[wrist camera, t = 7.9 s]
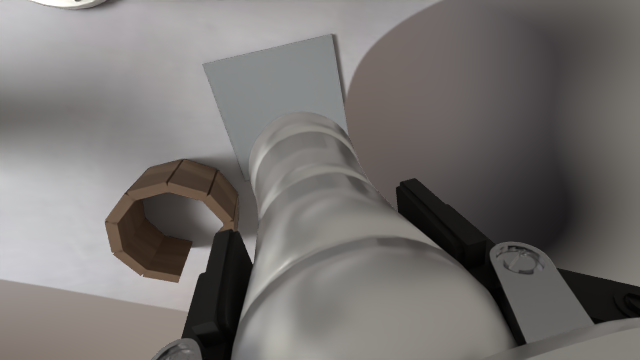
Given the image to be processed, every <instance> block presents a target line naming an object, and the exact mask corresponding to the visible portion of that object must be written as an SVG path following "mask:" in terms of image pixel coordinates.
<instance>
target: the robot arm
mask: <svg viewBox="0 0 640 360" xmlns="http://www.w3.org/2000/svg"><path fill="white" fill-rule="evenodd" d="M29 1H32V2H35V3H38V4H41V5H44V6H49V7H54V8H60V9H83V8H89V7H93V6H96V5H98V4H100V3H103V2H105V1H106V0H29ZM396 194H397V205H398V213H400V214H401V215H402V216H403V217H404V218H406V219H407V220H408V221H409V222H410V223H412V224H413V225H414V226H415V227H416V228H418V229H419V230H420V231H421V232H422V233H424V234H425V235H426V236H427V237H428V238H430V239H431V240H432V241H433V242H434V243H436V244H437V245H438V246H439V247H440V248H442V249H443V250H444V251H445V252H447V253H448V254H449V255H450V256H452V257H453V258H454V259H455V260H457V261H458V262H459V263H460V264H461V265H462V266H463V267H464V268H465V269H466V270H467V271H468V272H469V273H470V274H471V275H472V276H473V277H474V278H475V279H476V280H477V281H478V282H480V283H481V284H482V285H483V286H484V287H485V288H486V289H487V290H488V291H489V293H490V294H491V296H492V297H493V299H494V300H495V302H496V303H497V305H498V307H499V309H500V311H501V313H502V315H503V317H504V319H505V321H506V323H507V325H508V327H509V329H510V331H511V333H512V335H513V337H514V339H515V341H516V343H517V345H518V347H516V348H513V349H510V350H507V351H504V352H500V353H497V354H494V355H491V356H488V357H485V358H482V359H479V360H640V287H638V286H634V285H629V284H625V283H620V282H616V281H612V280H607V279H603V278H598V277H594V276H590V275H585V274H580V273H576V272H572V271H568V270H563V269H559V268H556V267H555V266H554V264H553V263H552V261H551V260H550V259H549V258H548V257H547V255H546V254H545V253H543V252H542V251H540V250H539V249H537V248H535V247H532V246H530V245H527V244H523V243H518V242H506V243H500V244H498V245H495V244H494V243H493V242H492V241H491V240H490V239H488V238H487V237H486V236H485V235H484V234H483V233H482V232H480V231H479V230H478V229H477V228H476V227H474V226H473V225H472V224H471V223H470V222H469V221H468V220H466V219H465V218H464V217H463V216H462V215H460V214H459V213H458V212H457V211H456V210H455V209H453V208H452V207H451V206H450V205H448V204H445V203H444V202H442V201H441V200H440V199H439V198H438V197H437V196H435V195H434V194H433V193H432V192H431V191H430V190H429V189H427V188H426V187H425V186H424V185H423V184H422V183H421V182H419V181H418V180H417V179H415V178H414V179H410V180H406V181H402V182H400V186H398V187H397V188H396ZM252 267H253V264H252V262H251V259H250V257H249V255H248V252H247V250H246V247H245V245H244V243H243V240H242V238H241V235H240V233H239V232H238V231H235V232H234V231H233V230H232V229H228V230H224V231H221V232H217V233H216V234H215V237H214V241H213V245H212V249H211V253H210V257H209V261H208V265H207V269H206V272H205V273H201V274H200V275H199V278H198V280H197V284H196V288H195V291H194V295H193V298H192V302H191V305H190V309H189V312H188V316H187V320H186V323H185V327H184V330H183V334H182V337H181V339H179V340H176V341H174V342H171V343H169V344H168V345H166V346H165V347H164V348H162V349H161V350H160V351H159V352H158V353H157V354H156V355H155V356H154V357H153V358H152V359H151V360H231V355H232V349H233V344H234V340H235V337H236V333H237V329H238V325H239V320H240V316H241V312H242V308H243V304H244V300H245V296H246V292H247V288H248V284H249V280H250V276H251V272H252Z"/></svg>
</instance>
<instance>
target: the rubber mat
mask: <svg viewBox="0 0 640 360" xmlns="http://www.w3.org/2000/svg"><path fill="white" fill-rule="evenodd" d="M202 65H203V67H204V70H205V73H206V75H207V78H208V81H209V84H210V86H211V89H212V92H213V95H214V97H215V100H216V103H217V105H218V108H219V111H220V114H221V116H222V119H223V122H224V124H225V127H226V130H227V133H228V135H229V138H230V141H231V143H232V146H233V149H234V152H235V154H236V157H237V160H238V163H239V165H240V168H241V171H242V173H243V176H244V179H245V181H248V180H250V175H249V158H250V154H251V150H252V148H253V146H254V143H255V141H256V139H257V138H258V137H259V135H260V134H261V133H262V131H263V130H264V129H265V127H266V126H268V125H269V124H270V123H271V122H272V121H273V120H275V119H277V118H278V117H280V116H282V115H285V114H288V113H291V112H299V111H304V112H312V113H315V114H319V115H322V116H325V117H327V118H329V119H331V120H332V121H334V122H336V123H337V124H338V125H339V126H340V127H341V128H342V129H343V130H344V131H345V132H346V134H347V135H348V129H347V123H346V117H345V111H344V105H343V99H342V93H341V87H340V81H339V75H338V69H337V63H336V57H335V51H334V45H333V39H332V34H330V35H325V36H321V37H317V38H313V39H308V40H304V41H300V42H295V43H291V44H287V45H282V46H278V47H274V48H270V49H265V50H261V51H257V52H252V53H248V54H244V55H240V56H235V57H231V58H227V59H222V60H218V61H214V62H209V63H205V64H202ZM348 137H349V135H348Z"/></svg>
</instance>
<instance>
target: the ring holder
mask: <svg viewBox="0 0 640 360" xmlns="http://www.w3.org/2000/svg"><path fill="white" fill-rule="evenodd" d="M166 192H170V193H174V194H178V195H181V196H185V197H189V198H192V199H196V200H200V201H203V202H204V203H205V204H206V205H207V206H208V207H209V209H210V210H211V211H212V212H213V213H214V214H215V215H216V216H217V217H218V218H219V219H220V220H221V221H222V222H223V227H222V228H221V229H220V230H219V231H218V232H221V231H224V230H228V229H232V230H233V231H234V232H235V231H237V226H238V194H237V191H236V190H235V189H234V188H233V187H232V185H231V184H230V183H229V182H228V181H227V180H226V178H225V177H224V176H223V175H222V174H221V173H220V171H219V170H218V171H217V172H216V169H215V168H212V167H208V166H205V165H202V164H199V163H196V162H192V161H189V160H186V159H184V161H183V160H182V159H180V160H176V161H172V162H168V163H164V164H160V165H157V166H153V167H150V168H148V169H147V170H146V171H145V172H144V173H143V174H142V176H141V177H140V178H139V179H138V180H137V181H136V182H135V183H134V184H133V185H132V186H131V187H130V188H129V189H128V190H127V191H126V193H125V194H124V195H123V196H122V198H121V199H120V200H119V202H118V203H117V205H116V206H115V207H114V209H113V210H112V211H111V213H110V214H109V216H108V217H107V218H106V221H105V226H106V230H107V235H108V239H109V243H110V247H111V251H112V253H113V252H115V253H114V254H113V255H114V256H116V257H117V258H118V259H120V260H121V261H122V262H123V263H125V264H126V265H127V266H129V267H130V268H131V269H133V270H134V271H135V272H136V273H138V274H139V275H140V276H141V275H142V274H143V277H148V278H153V279H159V280H165V281H170V282H176V283H178V282H179V279H180V276H181V273H182V271H183V268H184V265H185V262H186V260H187V257H188V254H189V251H190V248H191V245H192V242H191V241H186V240H182V239H177V238H173V237H168V236H164V235H163V234H162V233H161V232H160V231H159V230H158V229H157V228H156V227H154V226H153V225H152V224H151V223H150V222H149V221H148V220H147V219H146V218H145V214H144V208H143V202H142V199H143V198H147V197H151V196H155V195H158V194H162V193H166ZM214 237H215V236H214ZM213 241H214V240H213ZM212 245H213V244H212ZM211 249H212V248H211ZM210 253H211V252H210ZM209 257H210V256H209ZM208 261H209V260H208ZM207 265H208V264H207ZM206 269H207V268H206Z"/></svg>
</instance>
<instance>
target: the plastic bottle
mask: <svg viewBox="0 0 640 360" xmlns="http://www.w3.org/2000/svg"><path fill="white" fill-rule="evenodd" d="M249 175H250V180H251V185H252V190H253V193H254V195H255V197H256V202H257V210H258V218H259V221H258V232H257V239H256V248H255V258H254V263H253V267H252V272H251V276H250V280H249V284H248V288H247V292H246V296H245V300H244V304H243V308H242V312H241V316H240V320H239V325H238V329H237V333H236V337H235V340H234V344H233V349H232V355H231V360H479V359H482V358H485V357H488V356H491V355H494V354H497V353H500V352H504V351H507V350H510V349H513V348H516V347H518V345H517V343H516V341H515V339H514V337H513V335H512V333H511V331H510V329H509V327H508V325H507V323H506V321H505V319H504V317H503V315H502V313H501V311H500V309H499V307H498V305H497V303H496V302H495V300H494V299H493V297H492V296H491V294H490V293H489V291H488V290H487V289H486V288H485V287H484V286H483V285H482V284H481V283H480V282H478V281H477V280H476V279H475V278H474V277H473V276H472V275H471V274H470V273H469V272H468V271H467V270H466V269H465V268H464V267H463V266H462V265H461V264H460V263H459V262H458V261H457V260H455V259H454V258H453V257H452V256H450V255H449V254H448V253H447V252H445V251H444V250H443V249H442V248H440V247H439V246H438V245H437V244H436V243H434V242H433V241H432V240H431V239H430V238H428V237H427V236H426V235H425V234H424V233H422V232H421V231H420V230H419V229H418V228H416V227H415V226H414V225H413V224H412V223H410V222H409V221H408V220H407V219H406V218H404V217H403V216H402V215H401V214H400V213H398V212H397V211H396V210H395V209H394V208H393V207H392V206H391V204H390V203H389V202H388V201H387V200H386V199H385V198H384V197H383V196H382V195H381V193H380V192H379V191H377V190H376V189H375V188H374V186H373V185H372V184H371V183H370V182H369V180H368V179H367V177H366V175H365V173H364V171H363V169H362V168H361V166H360V164H359V161H358V157H357V154H356V152H355V150H354V147H353V145H352V143H351V140H350V138H349V137H348V135H347V134H346V132H345V131H344V130H343V129H342V128H341V127H340V126H339V125H338V124H337V123H336V122H334V121H332V120H331V119H329V118H327V117H325V116H322V115H319V114H315V113H312V112H304V111H299V112H291V113H288V114H285V115H282V116H280V117H278V118H277V119H275V120H273V121H272V122H271V123H270V124H269V125H268V126H266V127H265V129H264V130H263V131H262V133H261V134H260V135H259V137H258V138H257V139H256V141H255V143H254V146H253V148H252V150H251V154H250V158H249Z"/></svg>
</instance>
